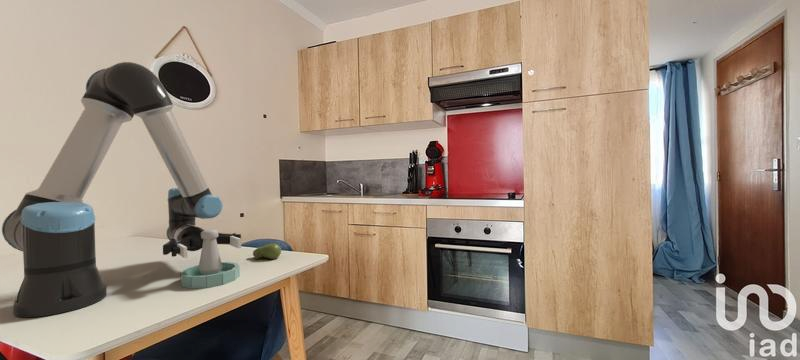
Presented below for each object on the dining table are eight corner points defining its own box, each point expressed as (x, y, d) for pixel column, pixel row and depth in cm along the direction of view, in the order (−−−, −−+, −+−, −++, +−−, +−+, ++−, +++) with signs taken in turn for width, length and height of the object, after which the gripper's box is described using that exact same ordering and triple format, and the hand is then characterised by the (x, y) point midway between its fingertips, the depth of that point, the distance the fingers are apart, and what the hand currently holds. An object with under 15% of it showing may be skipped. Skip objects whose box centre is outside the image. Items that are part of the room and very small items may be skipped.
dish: (170, 289, 85) (170, 278, 85) (196, 273, 99) (196, 263, 99) (227, 286, 87) (227, 275, 87) (245, 270, 101) (245, 261, 101)
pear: (273, 244, 111) (248, 248, 114) (276, 260, 111) (250, 263, 114) (282, 241, 117) (258, 244, 119) (285, 255, 117) (261, 259, 119)
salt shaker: (202, 280, 89) (201, 232, 88) (195, 276, 93) (194, 230, 92) (225, 275, 93) (224, 229, 93) (218, 271, 97) (217, 227, 97)
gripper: (232, 242, 114) (259, 252, 100) (142, 257, 96) (159, 271, 81) (232, 221, 114) (258, 228, 99) (141, 231, 96) (158, 241, 81)
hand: (214, 247), depth 90 cm, fingers open, 13 cm apart
